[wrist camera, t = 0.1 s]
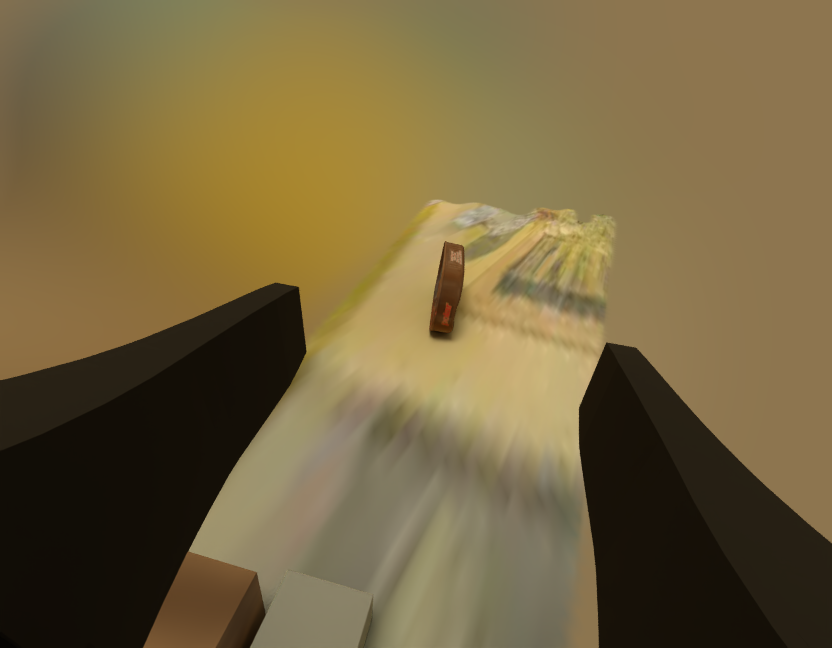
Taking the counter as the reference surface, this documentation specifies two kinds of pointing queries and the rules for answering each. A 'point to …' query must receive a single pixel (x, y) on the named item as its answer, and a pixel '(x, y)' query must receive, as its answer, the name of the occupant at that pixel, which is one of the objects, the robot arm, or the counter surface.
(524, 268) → the counter surface
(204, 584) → the walnut block
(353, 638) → the slate block
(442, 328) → the tin
